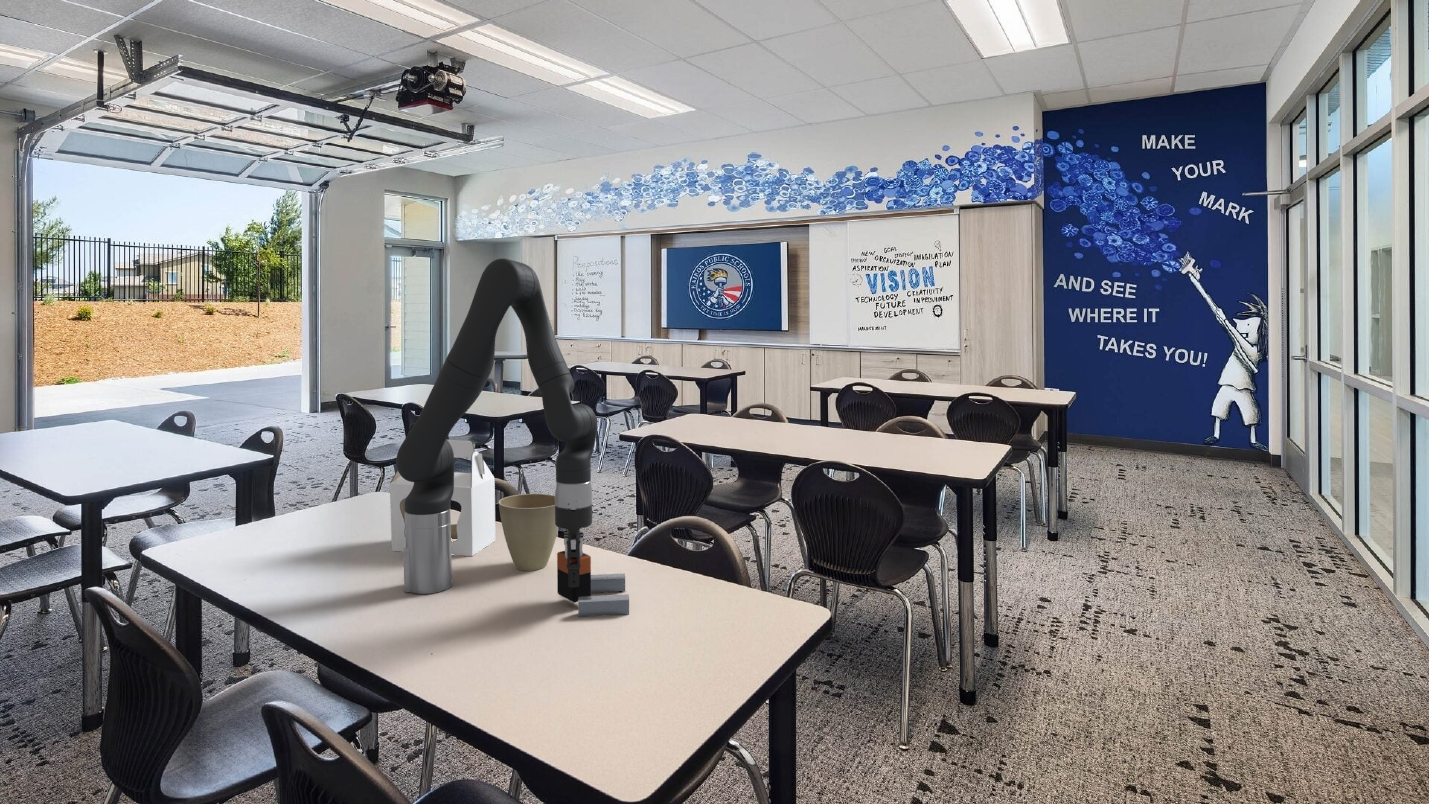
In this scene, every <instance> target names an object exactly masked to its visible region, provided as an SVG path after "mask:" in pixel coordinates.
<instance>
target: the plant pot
mask: <svg viewBox="0 0 1429 804" xmlns="http://www.w3.org/2000/svg"><path fill="white" fill-rule="evenodd" d="M498 509H499V515H500V516H499V517H500V521H501V526H502V531H503V535H504V539H505V542H506V545H507V549H508V551H509V554H510V558H511V560H512V562H513V565H514V567H515V568H516V569H517V570H520V571H529V570H530V571H538V570H541V569H540V568H542V569H544V568H546V567H547V565H548V563H549V560H550V557H551V554H552V552H553V549H554V547H555V546H554V545H555V543H556V540H557V535H558V532H559V529H560V528H559V527H557V526H556V525H555V494H554V495H553V494H547V493H523V494H522V493H521V494H516V495H515V494H514V495H509V496H505V497H502V498H500V499H499V500H498ZM545 566H546V567H545ZM537 569H538V570H537ZM530 571H529V572H530Z"/></svg>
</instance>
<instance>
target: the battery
mask: <svg viewBox="0 0 1429 804" xmlns="http://www.w3.org/2000/svg"><path fill="white" fill-rule="evenodd" d="M556 562H557V563H556V565H557V567H556V571H557V572H556V573H557V575H556V577H557V584H556V585H557V595H559V596H561V597H563V598H565V599H567V600H569V601H570V602H572V603H578V597H584V596H592V593H591V575H592V557H591V555H589V554H587V553H584V552H583V550H582V558H580V564H581V567H580V569H579V587H572V588H570V587H569V586H568V569H567V559H566V558H565V550H562V551H558V552H557V554H556ZM570 563H577V558H571V559H570Z"/></svg>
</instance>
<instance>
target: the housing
mask: <svg viewBox="0 0 1429 804" xmlns="http://www.w3.org/2000/svg"><path fill="white" fill-rule="evenodd" d="M619 591H625V592H626V574H625V573H607V574H606V573H602V574H600V573H599V574H591V594H600V593H599V592H607V593H620V592H619ZM577 603H578V605H577V608H578V613H577V616H578V618H583V617H585V618H586V617H602V616H603V615H606V616H619V615H620V616H623V615H630V595H629V594H628V593H627V594H610V595H609V594H607V595H606V594H605V595H591V596H584V597H578V602H577ZM603 617H604V616H603Z"/></svg>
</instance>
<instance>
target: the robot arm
mask: <svg viewBox="0 0 1429 804" xmlns="http://www.w3.org/2000/svg"><path fill="white" fill-rule="evenodd" d="M545 302H546V301H545V299H544V295H543V291H542V286H541V283H540V280H539V277H538V275H537V273H536V271H535V270H534V269H533V268H532V267H531V266H529V264H526V263H524V262H520V261H516V260H513V259H509V258H497V259H494V260H493V261H491V262H490V263H489V264H488V265H486V267H485V268H484V270H483V272H482V273H481V276H480V279H479V281H478V283H477V286H476V289H475V292H474V296H473V299H472V301H471V303H470V307H469V309H468V312H467V314H466V316H465V319H464V321H463V323H462V326H461V328H460V330H459V332H458V334H457V335H456V338H455V340H454V343H453V345H452V347H451V349H450V351H449V352H448V354H447V357H446V359H445V360H444V362H443V365H442V367H441V369H440V370H439V372H438V375H437V378H436V380H435V382H434V384H433V387H432V389H431V390H430V393H429V395H428V397H427V399H426V401H425V403H424V406H423V407H422V410H421V412H420V414H419V415H418V418H417V419H416V421H415V422H414V424H413V426H412V427H411V429H410V431H409V432H408V433H407V435H406V436H405V438H404V440H403V441H402V443H401V445H400V446H399V449H398V450H397V453H396V458H395V464H396V471H397V470H398V472H399V474H400V475H401V476H402V478H404V479H405V480H407V481H410V482H414V485H413V488H412V490H411V492H410V493H409V495H408V496H407V497H406V499H405V532H406V546H405V548H404V550H403V552H402V553H403V584H404V586H403V588H404V589H403V590H404V593H412V594H420V595H421V594H422V595H423V594H424V595H427V594H435V593H439V592H443V591H446V590H448V589H450V588H451V587H452V585H453V574H452V573H453V569H452V565H453V564H452V555H451V525H452V521H451V519H452V518H451V501H452V500H451V498H452V495H453V491H454V472H455V457H454V453H453V449H452V447H451V445H450V443H449V442H448V441H447V440H446V439H448V436H449V435H450V432H451V431H452V429H454V427H455V425H456V424H457V423H459V420H461V418H462V417H463V416H464V415H465V414H466V413H467V412H468V410H469V409H471V407H472V406H473V405H474V403H475V402H476V401H477V399H478V398H479V396H480V395H481V393H482V391H483V389H484V387H485V385H486V384H487V382H488V379H489V378H490V375H491V373H492V370H493V367H494V362H495V354H496V353H495V351H496V337H497V333H498V330H499V327H500V325H501V323H502V320H503V319H504V317H505V315H506V313H507V311H508V310H509V308H510V307H511V308H512V310H513V311H514V313H515V315H516V316H517V318H518V320H519V322H520V324H521V327H522V329H523V333H524V338H525V346H526V348H525V349H526V356H527V361H528V364H529V365H528V366H529V368H530V371H531V373H532V376H533V378H534V380H535V382H536V383H535V384H536V385H537V387H538V389H539V391H540V393H541V399H542V407H543V411H544V419H545V423H546V425H547V428H548V430H549V431H550V434H551V435H552V436H553V437H554V438H555V439H556V440H557V441H560V442H564V443H565V446H564V449H563V450H562V451H561V452H560V453H559V454H557V456H556V459H555V487H554V496H555V525H556V526H557V527H559V528H558V529H562V530H563V529H565V530H567V532H564V533H563V535H564V536H563V545H564V551H565V558H566V559H567V569H568V586H569V587H570V588H572V587H579V569H580V567H581V564H580V558H582V551H583V545H584V541H585V540H584V531H581V529H585V528H589V527H590V526H592V524H593V488H592V478H591V477H592V475H591V474H592V472H591V469H592V464H591V459H592V455H593V453H594V448H595V443H596V437H597V433H598V420H597V417H596V416H597V415H596V414H595V412H594V410H593V409H592V408H591V407H590V406H589V405H587V404H583V403H579V404H577V403H576V404H573V403H572V400H571V397H570V396H571V395H570V393H572V392H573V391H574V389H575V382H574V381H575V380H574V379H573V376H572V373H571V371H570V369H569V367H568V365H567V363H566V360H565V358H564V356H563V353H562V351H561V349H560V346H559V344H558V341H557V338H556V336H555V333H554V330H553V326H552V323H551V320H550V318H549V317H550V316H549V313H548V310H547V306H546V303H545ZM571 558H577V563H570V559H571Z"/></svg>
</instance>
